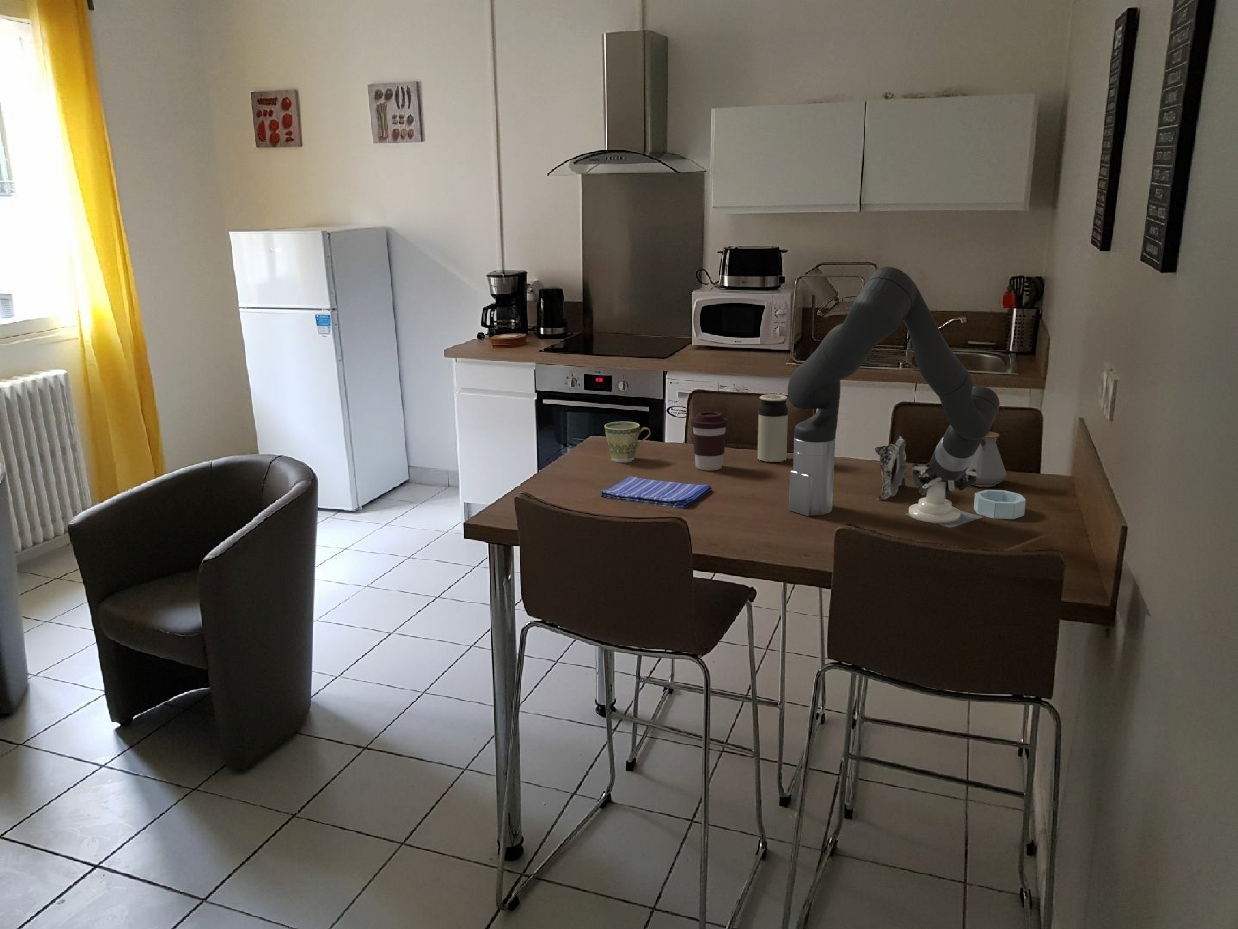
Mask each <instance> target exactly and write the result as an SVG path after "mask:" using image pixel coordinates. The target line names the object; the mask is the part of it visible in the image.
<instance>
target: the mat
mask: <svg viewBox="0 0 1238 929" xmlns="http://www.w3.org/2000/svg"><path fill="white" fill-rule="evenodd" d="M958 510H959V511H960V519H959V520H958V521H956V522H951V523H934V524H936V525H940V526H942V527H946V528H949V529H952V528H954V527H957V526H961V525H964V524H967V523H970V522H972V521H975V520H979V519H981V518H983V515H979V514H974V513H970V512H966V511H963V510H960V509H958ZM904 515H905V516H909V517H911V516H910V515H909V512H906V513H904Z"/></svg>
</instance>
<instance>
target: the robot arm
mask: <svg viewBox="0 0 1238 929" xmlns="http://www.w3.org/2000/svg"><path fill="white" fill-rule="evenodd" d="M902 323H904V324H905V327H906V329H907V331H908V332H907V333H908V335H909V337H910V340H911V345H912V349H913V354H914V357H915V358H914V359H915V361H916V366H917V368H918V371H919V373H920V375H921V376H922V377H923V380H924V381H925V382H926V384H928V386H929V387H930V388H931V389H932V391H933V392H934V393H935V394H936V396H938V398H939V401H940V404H941V407H942V408H943V411H944V413H945V416H946V418H947V420H948V423H949V426H947V429H946V430H945V433H944V434H943V436H942V437H941V439H940V441H939V442H938V444H937V445H936V447H935V449H934V451H933V453H932V456H931V458H930V460H929V462H928V463H926V464H925V465H924V466H922V465H921V466H919V463H916V462H915V463H913V464H912V477H913V483H914V486H916V487H918V493H919V494H920V495H921V496H926V493H927V489H928V487H929V486H930V485H932V486H933V485H934V484H935V483H936V482H939V481H942V482H946V493H945V498H947V497H948V496H951V495H952V492H953V491H955V490H957V489H958V490H957V491H963V490H965V489H966V488H968V487H969V486H971V484H972V483H973V482H975V481H976V470H975V469H971V470H969V471H967V469H968V467H969V465H970V463H971V462H972V460H973V458H974V456H975V453H976V450H977V449H978V447H979V445H980V443H981V441H982V438H983V437H985V436H986V435H987V433H988V432H990V429H992V428H991V427H992V426H993V423H994V421H995V419H996V416H997V414H998V412H999V409H1000V407H1001V406H1000V405H1001V404H1000V398H999V396H998V394H997V393H996V392H995V391H994V390H993V389H992V388H989V387H986V386H975V387H974V380H973V376H972V375H971V374H970V372H969V371H968V370H967V368H966V367H965V366H964V364H963V363H962V362H961V361H960V359H959V358H958V357H957V356H956V354H955V353H954V351H952V348H951V347H950V346H949V344H948V342H947V341H946V340H945V337H944V336H943V334H942V332H941V330H940V328H939V326H938V324H937V322H936V320H935V318H934V315H932V312H931V311H930V309H929V307H928V305H927V303H926V301H925V299H924V297H923V295H922V293H921V291H920V290H919V288H918V286H917V284H916V283H915V281H914V280H913V279H912V278H911V277H910V276H909V275H908V274H907V273H906V272H904V271H903V270H901V269H899V268H897V267H893V266H881V267H878V268H877V269H876V270H875V271H874V272H873V273H872V274H871V275H870V277H869V278H868V280H867V281H866V283H865V284H864V286H863V287H862V289H861V290H860V292H859V293H858V295H856V297H855V299H854V301H853V303H852V305H851V307H850V309H849V311H848V314H847V315H846V317H845V319H844V321H843V322H842V323H839V324H837V325H836V326H834V327H833V328H832V329H831V330H830V331H829V332H827V334H826V335H825V336H824V338H823V340H822V341H821V342H820V343H819V345H818V347H817V348H816V349H815V350H814V351H813V352H812V353H811V355H810V356H809V357H808V358H807V359H806V360H804V362H803V363H802V364H800V365H799V366H798V367H797V368H795V370H794V371H793V373H791V376H790V378H789V381H788V384H787V399H788V400H789V402H790V404H791V405H792V406H793V407H794V408H796V409H800V410H817V411H816V413H814V414H813V415H812V416H810V417H809V418H807V419H805V420H803V421H799V422H798V423H797V424H795V427H794V432H793V460H792V461H793V462H792V464H793V465H792V470H790V471H789V486H788V487H789V490H788V511H791V512H794V513H797V514H799V515H803V516H805V517H810V516H823V515H825V514H828V513H831V512H832V511H833V499H834V498H833V496H834V495H833V494H834V493H833V492H834V479H835V478H834V476H835V475H834V474H835V472H834V471H835V451H836V434H837V428H838V421H839V409H840V408H839V407H840V399H841V380H844V379H845V378H848V377H850V376H852V375H853V374H854V373H855V372H856V371H858V369H860V367H861V366H862V365H863V364H864V363H865V362H866V360H867V359H868V358H869V356H870V355H871V353H872V352H873V348H875V346H877V345H879V344H880V343H881V342H882V341H884V340H885V339H886V338H888V337H889V336H891V335H892V334H893V333H894V332H895V331H896V330H897V329H898V328H899V327H900V326H901V325H902ZM924 473H925V474H924ZM923 474H924V475H923ZM922 475H923V476H922Z"/></svg>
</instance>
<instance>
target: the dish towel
mask: <svg viewBox="0 0 1238 929" xmlns="http://www.w3.org/2000/svg"><path fill="white" fill-rule="evenodd" d="M711 490H712V486H711V485H710V484H693V483H682V482H674V481H662V480H655V479H645V478H640V477H636V476H627V478H624V479H623V480H622V481H619V482H618V483H616V484H615V485H613V486H612V487H610V488H606V489H602V490H600V498H602V497H604V498H607V499H612V500H613V499H614V500H620V501H626V502H627V501H628V502H633V503H640V504H647V505H653V506H654V505H655V506H659V507H669V508H674V509H676V508H677V509H685V508H686V509H687V508H688V507H689V506H692V504H694V503H695V502H696V501H698V500H699V499H701V498H703V497H704V496H705V495H706V494H708V493H709V492H711Z"/></svg>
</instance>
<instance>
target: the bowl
mask: <svg viewBox="0 0 1238 929" xmlns="http://www.w3.org/2000/svg"><path fill="white" fill-rule="evenodd" d="M1026 500H1027V499H1025V497H1024V496H1023V495H1022V494H1020V493H1016V492H1012V491H1008V490H1003V489H1002V490H1001V489H984V490H981V491H977V492H975V493H974V503H973V509H974V511H975V512H976V515H979V516H982V517H987V518H991V519H997V520H998V519H999V520H1000V519H1001V520H1015V519H1018V518H1020V517H1021V518H1022V517H1023V516H1025V513H1026V512H1025V511H1026V502H1027V501H1026Z"/></svg>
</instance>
